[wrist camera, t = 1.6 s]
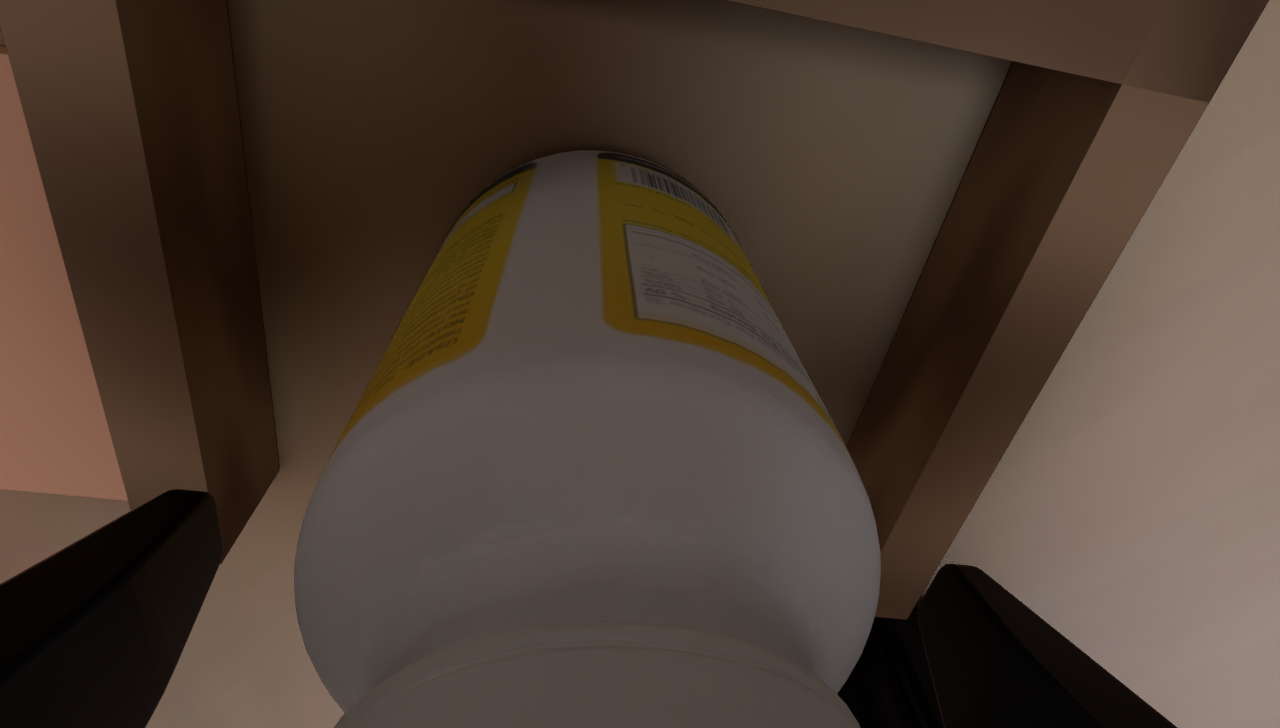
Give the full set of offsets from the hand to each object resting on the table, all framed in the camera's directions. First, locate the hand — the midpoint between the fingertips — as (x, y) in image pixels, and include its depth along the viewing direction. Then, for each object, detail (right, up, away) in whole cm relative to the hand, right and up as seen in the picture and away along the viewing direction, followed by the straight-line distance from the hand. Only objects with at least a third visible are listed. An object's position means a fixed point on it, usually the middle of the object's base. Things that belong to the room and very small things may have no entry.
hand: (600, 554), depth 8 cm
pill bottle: (0, +4, +6) cm, 8 cm away
